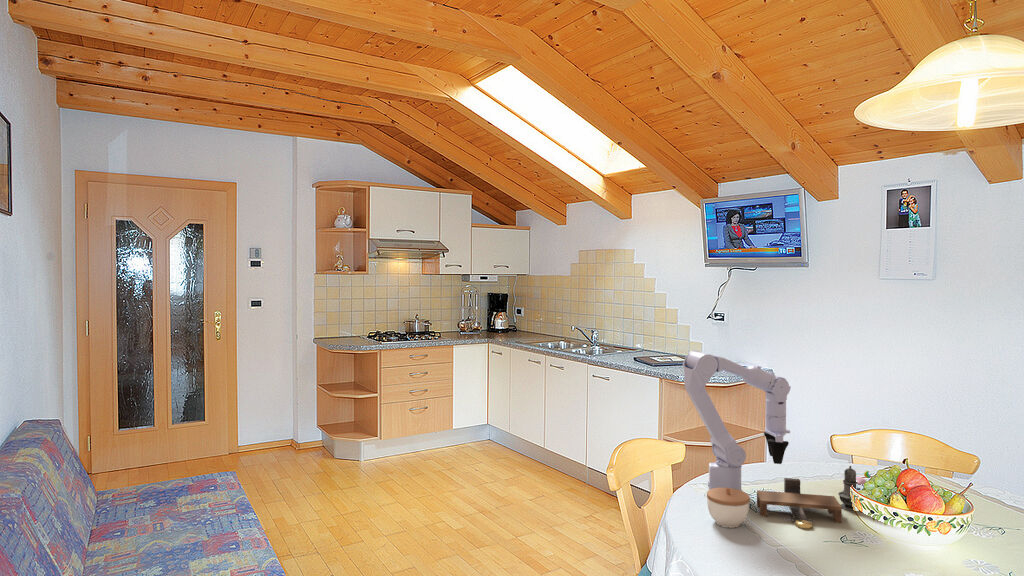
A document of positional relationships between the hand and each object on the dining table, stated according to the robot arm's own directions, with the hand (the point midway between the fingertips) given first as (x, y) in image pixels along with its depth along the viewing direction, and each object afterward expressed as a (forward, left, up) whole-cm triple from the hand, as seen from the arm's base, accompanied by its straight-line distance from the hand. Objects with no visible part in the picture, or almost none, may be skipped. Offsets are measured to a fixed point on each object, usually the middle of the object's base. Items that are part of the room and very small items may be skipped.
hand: (775, 459), depth 188 cm
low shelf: (+3, -18, -9) cm, 21 cm away
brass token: (+3, -27, -10) cm, 28 cm away
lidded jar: (-16, -29, -10) cm, 34 cm away
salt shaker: (+18, -10, -10) cm, 23 cm away
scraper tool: (+3, -17, -9) cm, 20 cm away
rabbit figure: (+26, +7, -10) cm, 28 cm away
